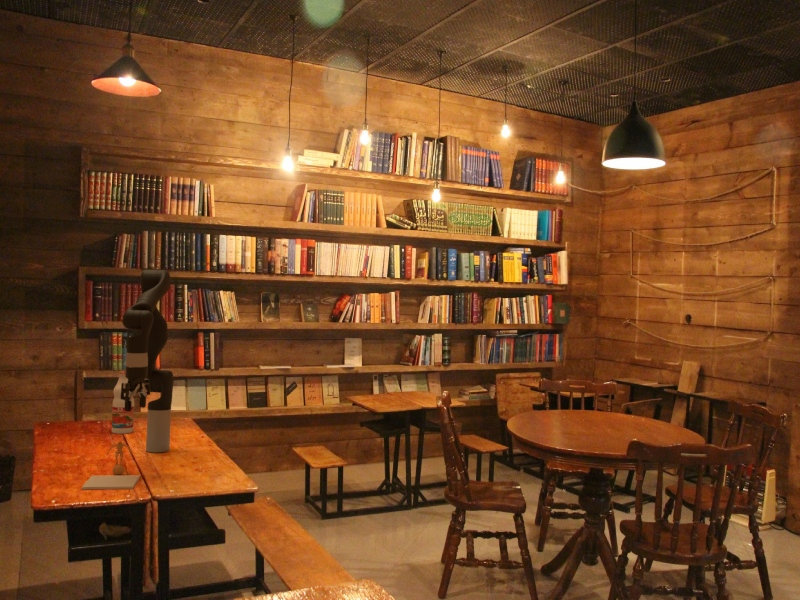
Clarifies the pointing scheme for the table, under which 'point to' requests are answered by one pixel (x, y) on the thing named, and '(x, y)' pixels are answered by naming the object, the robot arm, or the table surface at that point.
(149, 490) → the table surface
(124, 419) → the fruit juice
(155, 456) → the table surface
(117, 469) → the figurine
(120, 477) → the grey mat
